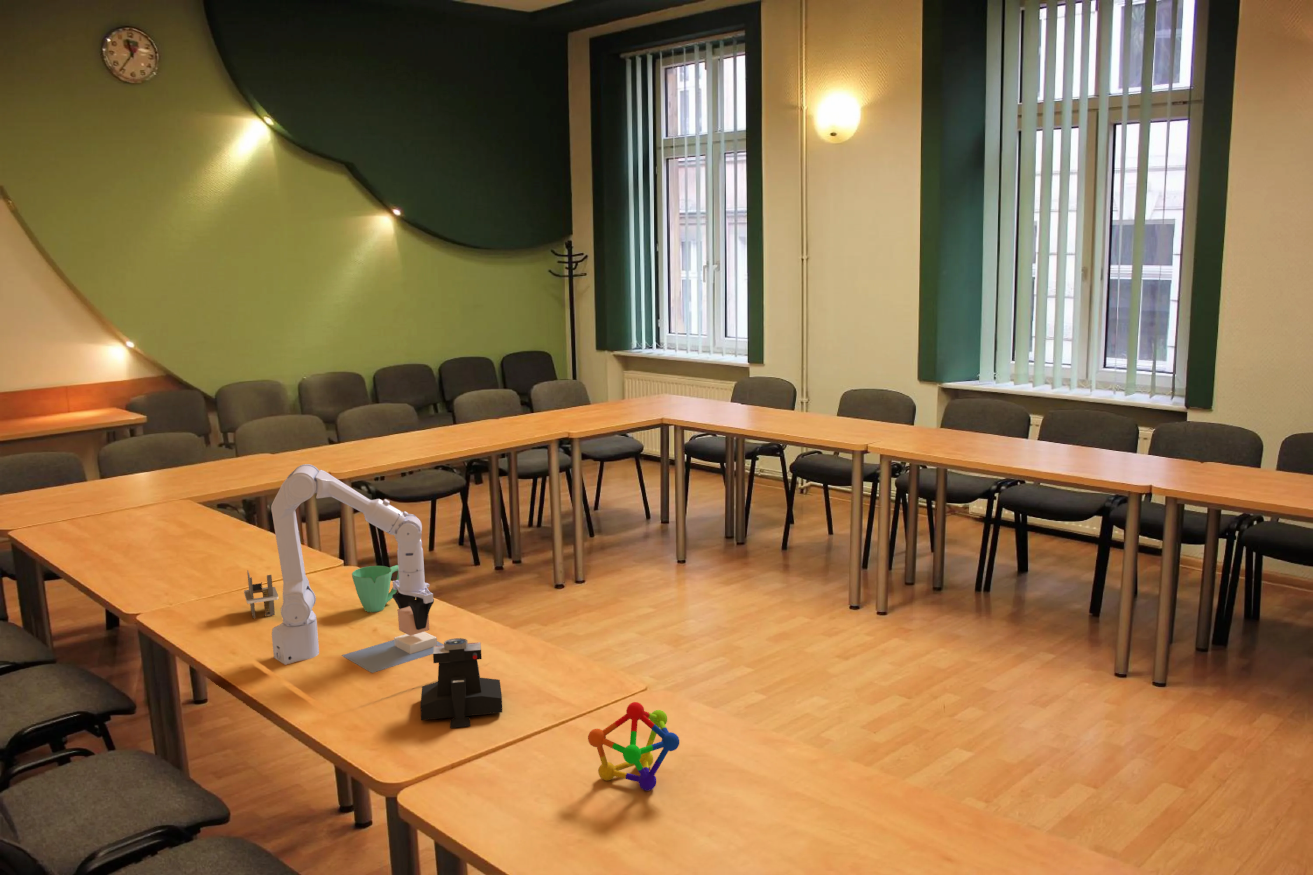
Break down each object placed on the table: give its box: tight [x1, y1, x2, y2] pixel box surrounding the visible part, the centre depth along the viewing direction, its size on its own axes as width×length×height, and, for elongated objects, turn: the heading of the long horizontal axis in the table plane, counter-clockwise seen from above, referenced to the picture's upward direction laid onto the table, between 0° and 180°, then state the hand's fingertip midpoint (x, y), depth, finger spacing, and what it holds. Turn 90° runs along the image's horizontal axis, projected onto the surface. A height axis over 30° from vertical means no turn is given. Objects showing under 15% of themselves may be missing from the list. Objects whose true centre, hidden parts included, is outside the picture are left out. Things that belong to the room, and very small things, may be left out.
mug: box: [351, 564, 399, 613], centre depth 280 cm, size 15×10×10 cm
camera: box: [419, 637, 503, 729], centre depth 218 cm, size 16×14×15 cm
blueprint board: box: [341, 631, 444, 674], centre depth 248 cm, size 20×14×3 cm
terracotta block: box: [397, 606, 430, 636], centre depth 250 cm, size 5×5×5 cm
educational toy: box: [587, 701, 680, 792], centre depth 189 cm, size 16×13×15 cm
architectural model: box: [243, 569, 279, 619], centre depth 276 cm, size 19×17×11 cm
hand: (414, 625), depth 251 cm, fingers closed on terracotta block, 5 cm apart
